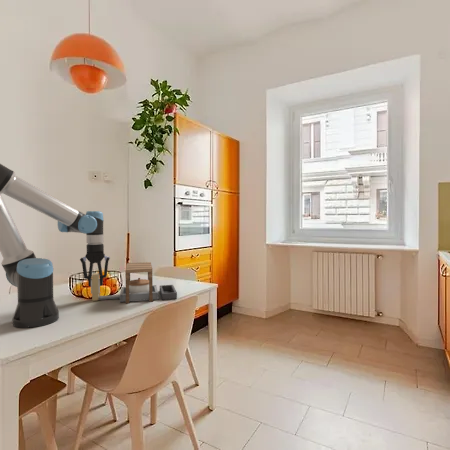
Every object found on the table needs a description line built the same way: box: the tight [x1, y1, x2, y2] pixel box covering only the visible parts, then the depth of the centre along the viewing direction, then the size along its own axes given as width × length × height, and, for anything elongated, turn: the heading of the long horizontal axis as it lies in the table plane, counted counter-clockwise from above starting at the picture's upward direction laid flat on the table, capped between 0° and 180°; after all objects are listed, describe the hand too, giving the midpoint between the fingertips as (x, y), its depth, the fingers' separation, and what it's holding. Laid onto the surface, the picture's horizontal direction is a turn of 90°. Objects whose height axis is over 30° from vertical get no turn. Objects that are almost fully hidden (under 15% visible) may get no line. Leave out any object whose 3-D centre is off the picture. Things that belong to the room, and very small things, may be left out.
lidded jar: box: [129, 277, 149, 294], centre depth 154 cm, size 11×11×9 cm
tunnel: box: [124, 261, 154, 304], centre depth 154 cm, size 21×12×16 cm, turn 16°
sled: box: [91, 272, 159, 303], centre depth 152 cm, size 16×30×12 cm, turn 106°
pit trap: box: [159, 284, 178, 301], centre depth 158 cm, size 18×7×3 cm, turn 16°
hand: (95, 292), depth 149 cm, fingers closed on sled, 2 cm apart
